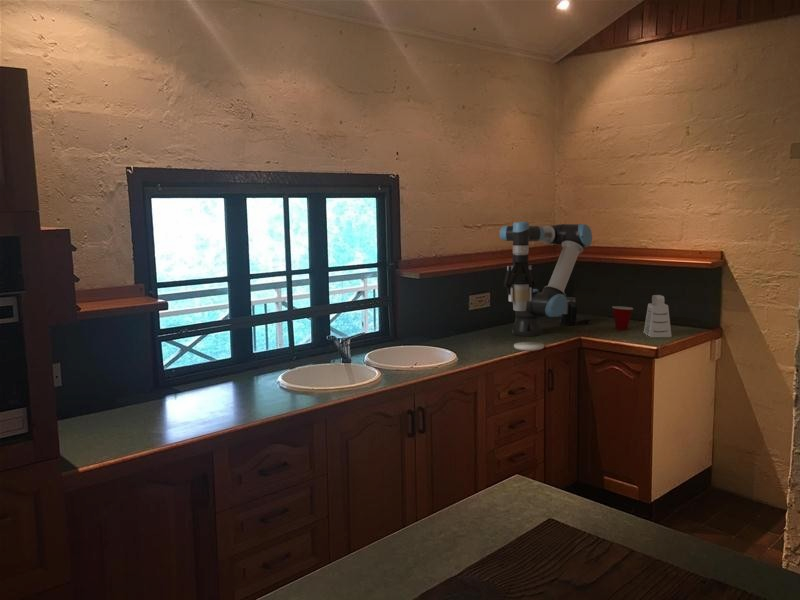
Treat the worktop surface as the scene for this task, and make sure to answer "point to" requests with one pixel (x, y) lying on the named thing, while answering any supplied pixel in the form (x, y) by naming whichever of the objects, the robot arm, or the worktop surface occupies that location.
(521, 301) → the coffee cup
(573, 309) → the milk frother
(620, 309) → the plastic cup
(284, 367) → the worktop surface
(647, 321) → the grater
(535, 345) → the saucer
